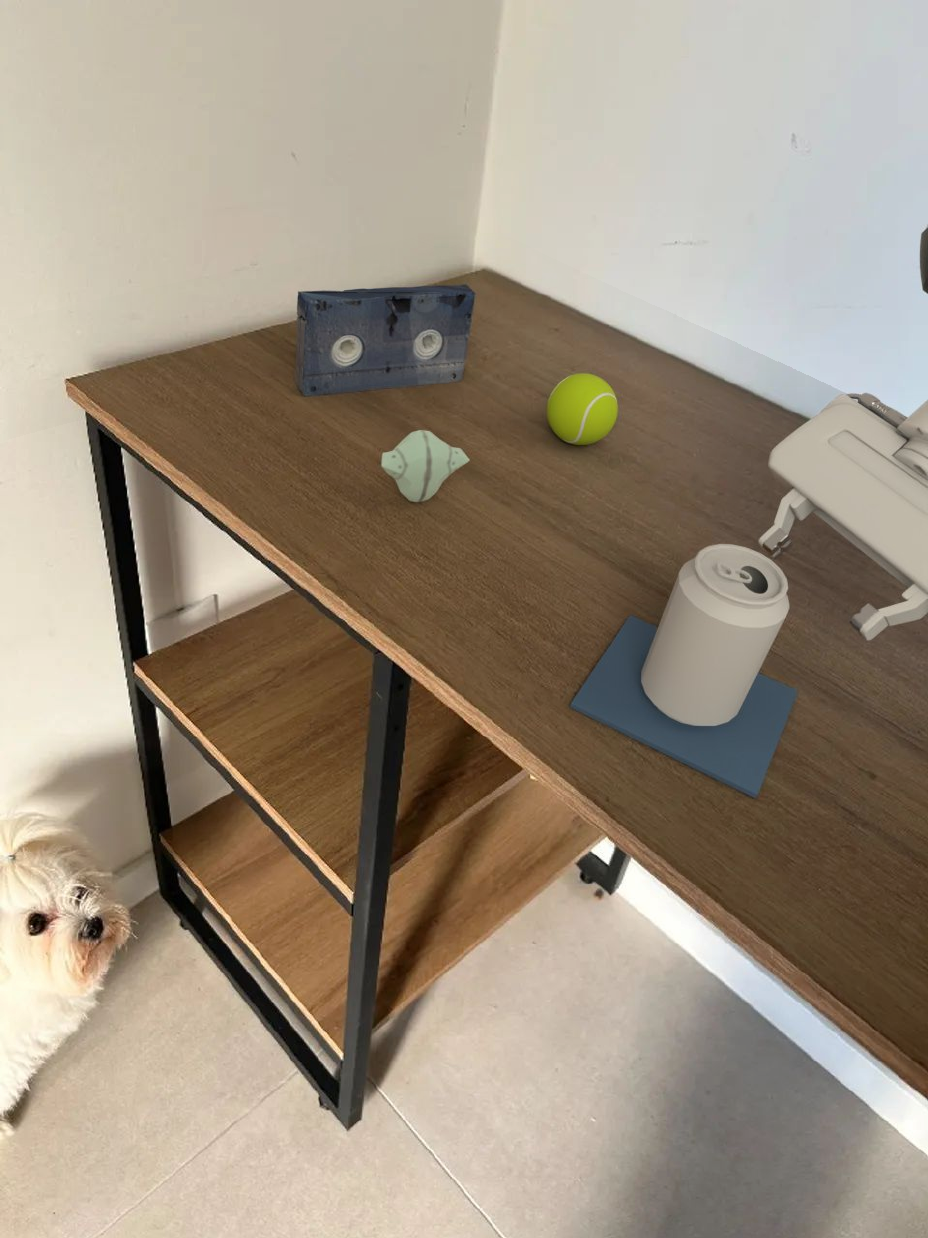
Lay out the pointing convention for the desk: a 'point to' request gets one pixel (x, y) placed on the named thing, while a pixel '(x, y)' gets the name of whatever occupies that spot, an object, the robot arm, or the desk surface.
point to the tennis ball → (582, 409)
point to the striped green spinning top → (422, 464)
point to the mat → (713, 750)
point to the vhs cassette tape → (381, 338)
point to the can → (715, 634)
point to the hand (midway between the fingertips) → (810, 589)
